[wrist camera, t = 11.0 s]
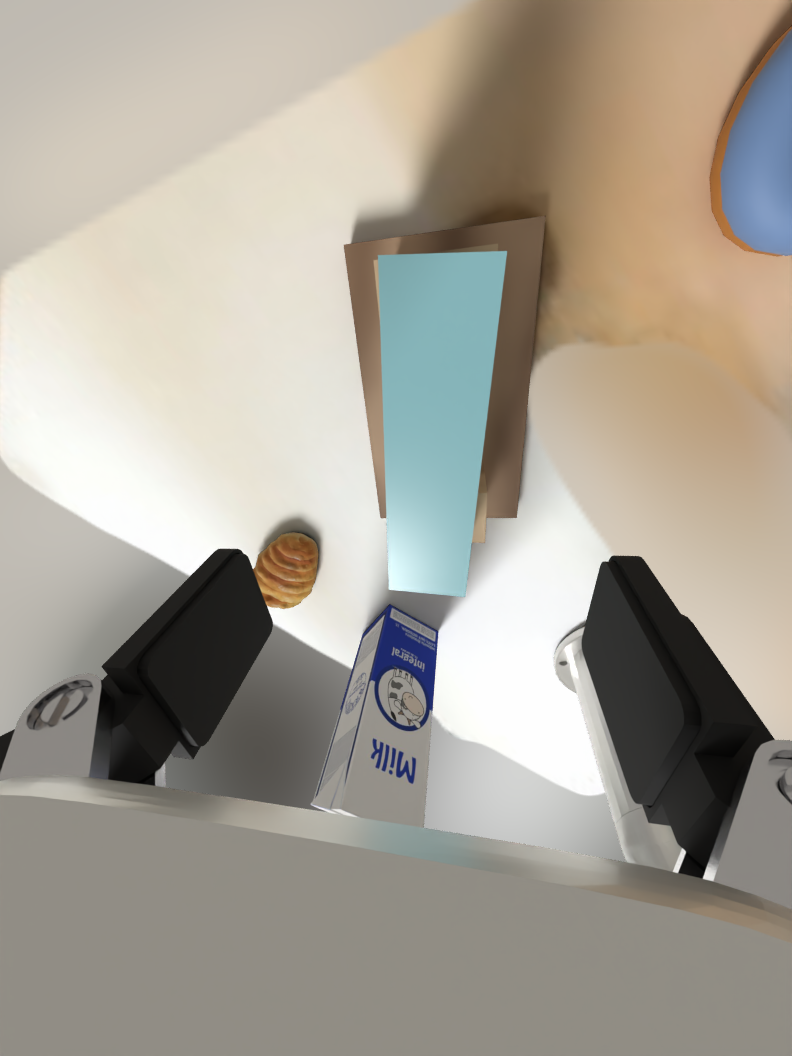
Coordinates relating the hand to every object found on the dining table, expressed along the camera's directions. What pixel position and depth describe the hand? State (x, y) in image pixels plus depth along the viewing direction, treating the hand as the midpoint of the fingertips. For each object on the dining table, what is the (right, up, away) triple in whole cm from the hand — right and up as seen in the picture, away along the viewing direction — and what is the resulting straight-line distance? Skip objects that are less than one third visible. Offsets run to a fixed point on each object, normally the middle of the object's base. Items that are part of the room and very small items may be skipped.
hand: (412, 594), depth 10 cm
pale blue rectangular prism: (+2, +8, +12) cm, 15 cm away
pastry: (-12, -2, +31) cm, 33 cm away
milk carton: (0, -11, +34) cm, 35 cm away
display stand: (+3, +12, +18) cm, 22 cm away
